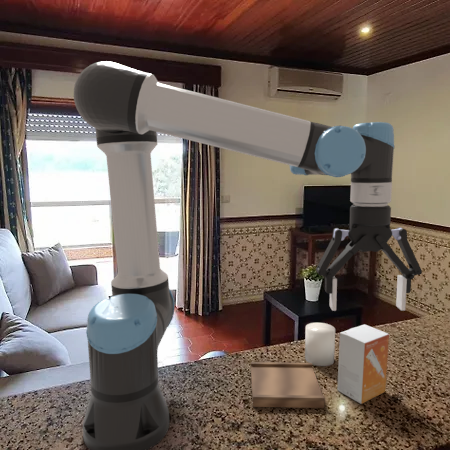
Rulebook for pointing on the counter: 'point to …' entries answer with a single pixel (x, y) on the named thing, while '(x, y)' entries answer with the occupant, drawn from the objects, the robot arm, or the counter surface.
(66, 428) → the counter surface
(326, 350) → the white cylinder
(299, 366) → the walnut board
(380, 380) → the small box
